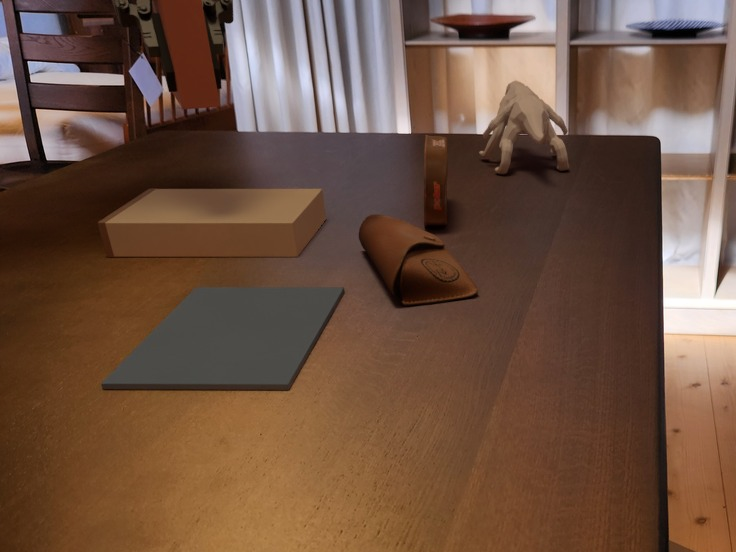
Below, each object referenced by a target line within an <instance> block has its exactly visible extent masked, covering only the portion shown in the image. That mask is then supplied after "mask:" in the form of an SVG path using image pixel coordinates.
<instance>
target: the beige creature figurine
mask: <svg viewBox="0 0 736 552" xmlns="http://www.w3.org/2000/svg"><path fill="white" fill-rule="evenodd" d="M551 121H552V122H553V123H554V124H555V125H556V126H557V127H558V128H560V130H561V132H562V134H563V136H566V135H567V134H568V131H569V130H568V128H567V126H566V122H565V121H564V119H563V118H562V116H560V115H559V114H557V113H556V111H555V110H554V109H553V108H552V107H551V106H550V105H549V104H547V103H546V102H545V101H544V100H543V99H542V98H540V97H539V95H538V94H536V93H535V92H534V91H533V90H532V89H531V88H530V87H529V86H528V85H525V83H523V82H521V81H518V80H516V79H515V80H513V81H511V82H509V83H508V84H507V86H506V89H505V93H504V96H502V98H501V100H500V102H499V107H498V109H497V113H496V116H495V117H494V118H493V119H491V120H490V122H489V123H488V125H487V127H486V128H485V130H484V132H483V133H482V138H483V140H486V139H487V138H488V137H489V136H490V138H489V139H488V141H487V144H486V145H485V149H484V150H480V151H479V152H478V154H479V156H481V157H482V158H485V159H489V158H490V157H491V156H492V154H493V153H494V151H495V150H496V149H497V147H498V145H499V149H500V151H501V155H500V156H501V158H500V159H501V160H500V164H499V166H497V167H495V168H494V171H495V173H496V174H499V175H506V174H507V173H508V171H509V168H510V166H511V161H512V154H513V150H514V149H513V148H514V144H515V142H516V141H517V140H518V137H519V135H527V136H528V137H529V138H530V139H531V140H532V141H534V143H536V144H538V145H542V146H543V145H545V144H548V145H549V147H550V151H549V152H550V153H551V154H553V155H556V161H557V162H556V163H557V165H556V169H557V170H558V171H559V172H565V171H567V170H569V169H570V163H569V157H568V152H567V147H566V145H565V142H564V141H563V140H562V138H560V137H559V136H558V135H557V133H556V131H555V128H554V126H553V124H552V122H551Z"/></svg>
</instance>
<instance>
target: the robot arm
mask: <svg viewBox="0 0 736 552" xmlns="http://www.w3.org/2000/svg"><path fill="white" fill-rule="evenodd" d="M201 1H202V6H203V12H204V18H205V23H206V29H207V35H208V40H209V46H210V51H211V57H212V63H213V68H214V74H215V80H216V85H217V90H222V89H223V87H222V86H223V85H222V72H221V71H222V70H221V67H220V63H219V59H218V56H217V55H224V54H225V53H224V52H225V39H224V35H223V31H222V28H221V24H223V23H224V24H227V25H228V24H233V22H234V20H235V19H234V0H217V1H216V0H201ZM111 2H112V5H113V8H114V12H115V15H116V17H117V20H118V23H119V25H120V26H121V27H123V28H130V27H132V26H133V27H136V28H138V29H139V30H140V34H141V36H142V40H143V43H144V48H145V52H146V54H147V56H148V57H149V58H159V59H160V63H161V66H162V70H163V75H164V79H165V83H166V87H167V90H168V93H171V92H177V88H176V80H175V73H174V69H173V65H172V61H171V57H170V53H169V49H168V45H167V41H166V38H165V34H164V30H163V26H162V22H161V18H160V14H159V13H154V9H153V3H152V0H136V4H134V3H130V2H129V0H111Z"/></svg>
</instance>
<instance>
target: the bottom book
mask: <svg viewBox="0 0 736 552" xmlns="http://www.w3.org/2000/svg"><path fill="white" fill-rule="evenodd" d="M325 207H326V206H325V199H324V190H323V188H154V187H153V188H148V189H147V190H145V191H144V192H142V193H141V194H139V195H137V196H136V197H134V198H133V199H131V200H130V201H128V202H126V203H125V204H123V205H122V206H121V207H119V208H117V209H116V210H114V211H113V212H111V213H110V214H108V215H107V216H105V217H104V218H102V219H100V220H99V221H97V226H98V230H99V234H100V237H101V241H102V244H103V249H104V253H105V256H106V258H116V257H117V258H120V257H121V258H122V257H124V258H125V257H126V258H127V257H128V258H131V257H132V258H139V257H140V258H146V257H147V258H155V257H156V258H164V257H165V258H167V257H168V258H183V257H184V258H195V257H196V258H219V257H220V258H298V257H299V256H300V254H301V253H302V252H303V251H304V249H305V248H306V247H307V245H308V244H309V243H310V241H311V240H312V239H313V237H314V236H315V235H316V234H317V232H318V231H319V230H320V228H321V227H322V226H323V225H324V223H325V222H326V221H327V214H326V208H325ZM325 220H326V221H325ZM324 221H325V222H324ZM321 225H322V226H321ZM318 229H319V230H318Z"/></svg>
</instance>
